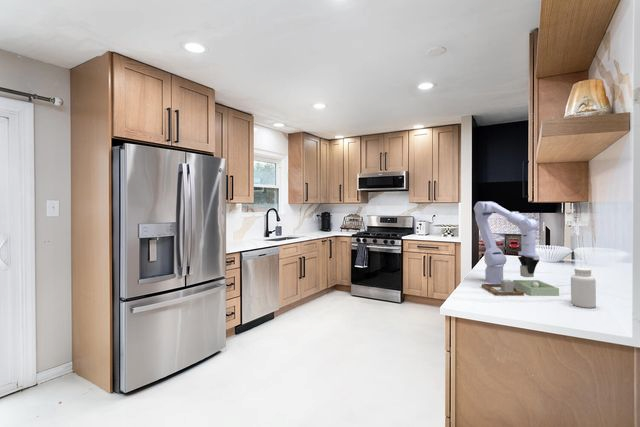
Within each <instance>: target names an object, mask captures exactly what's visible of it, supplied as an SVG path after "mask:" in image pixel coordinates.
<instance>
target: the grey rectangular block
mask: <svg viewBox="0 0 640 427" xmlns="http://www.w3.org/2000/svg"><path fill="white" fill-rule="evenodd" d="M519 271H520V273H519V276H521V277H523V278H534V277H535V273H534V274H529V273H528V268H527V265H519Z"/></svg>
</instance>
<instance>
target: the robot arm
mask: <svg viewBox="0 0 640 427" xmlns="http://www.w3.org/2000/svg"><path fill="white" fill-rule="evenodd" d="M473 211H474V214H475V215H474V216H475V219H474V220H475V222H476V225H477V227H478V231H479V233H480V238H481V239H482V242H483V244H484V248H485V251H484V252H483V255H484V256H483V258H484V262H485V263H484V264H485V265H486V267H485V270H484V271H485V273H484V276H485V279H483V281H485V282H486V283H487V284H501V280H504V267H505V264H506V263H507V256H506V255H505V254H504V253H503V251H502V249H500V248H499V247H498V245H497V243H496V241H495V238H494V234H493V232H492V229H491V226H490V224H489V222H488V219H489V217H490V216H492V215H493V214H494V213H496V214H498V215H500V216H502V217H504V218H506V219H507V222H509V223H510V224H512V225H515V226H516V227H518V229H519V231H520V234H521V235H520V237H521V239H520V240H521V245H520V246H521V247H520V248H521V250H520V251H518V250H517V252H518V257H517V258H518V260H519V262H520V264H521V265H527V268H528V273H529V274H534V275H535V270H536V267H537V265H538V264H539V262H540V255H539V254H537V253H536V231H537V230H538V228H539V223H538V221H537V220H535V219H534V218H529V217H528V216H525V215H522V214H521V213H520V211H510V210H508V209H506V208H504V207H502V206H501V205H499V204H498V203H496V202H494V201H490V200H489V201H477V202H476V203H475V205H474V206H473Z"/></svg>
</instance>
